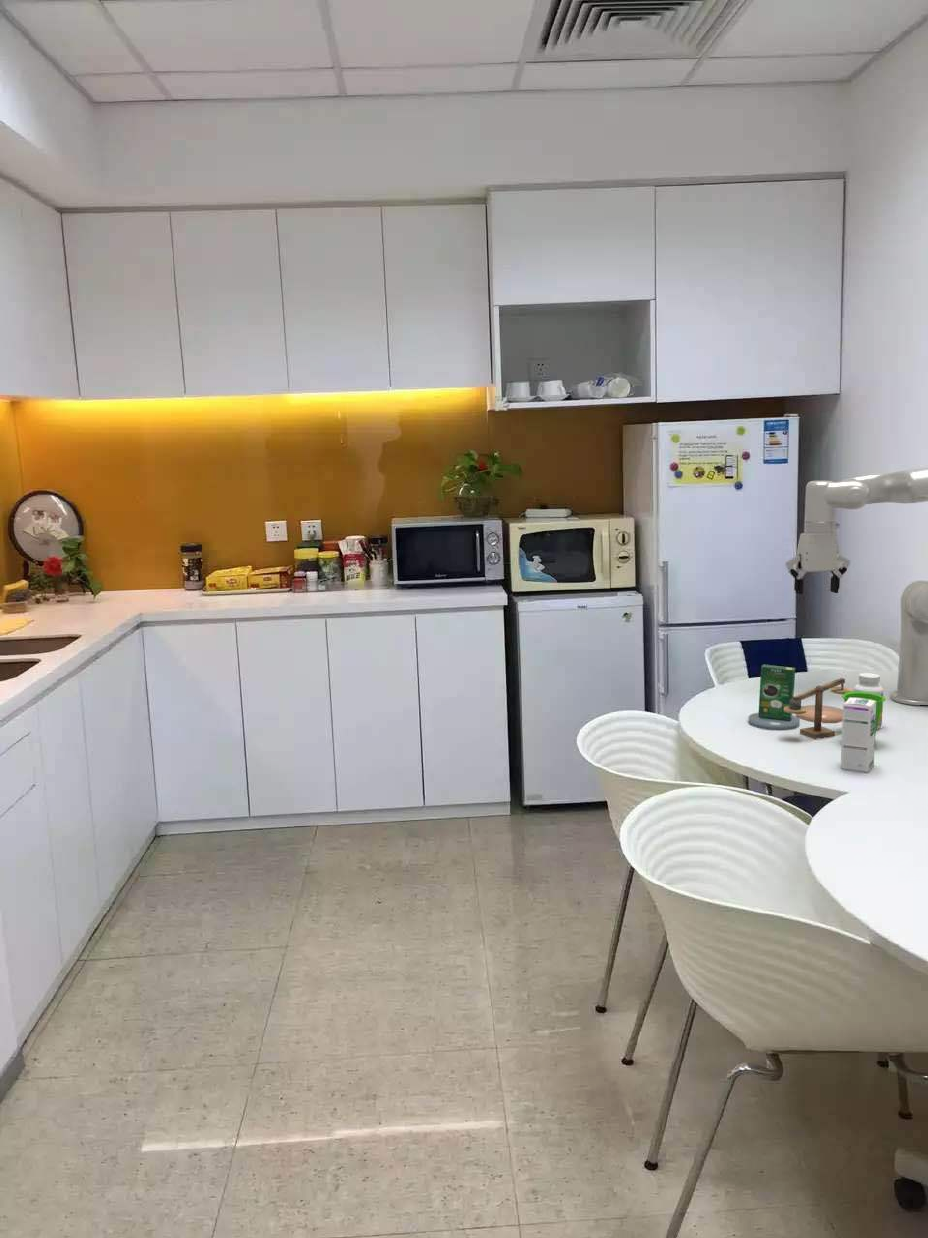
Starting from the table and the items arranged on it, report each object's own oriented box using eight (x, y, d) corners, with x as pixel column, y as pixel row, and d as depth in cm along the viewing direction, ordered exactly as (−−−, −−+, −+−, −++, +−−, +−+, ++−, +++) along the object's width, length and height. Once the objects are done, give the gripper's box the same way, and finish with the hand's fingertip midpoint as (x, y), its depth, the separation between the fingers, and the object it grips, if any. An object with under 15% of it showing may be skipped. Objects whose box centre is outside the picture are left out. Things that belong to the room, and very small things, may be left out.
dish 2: (832, 708, 259) (832, 704, 258) (855, 721, 247) (855, 716, 247) (787, 710, 257) (788, 706, 257) (808, 723, 246) (808, 719, 246)
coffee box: (794, 718, 246) (796, 666, 244) (791, 721, 244) (793, 669, 241) (760, 715, 250) (762, 663, 248) (757, 717, 248) (759, 666, 245)
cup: (881, 739, 233) (883, 693, 231) (883, 750, 224) (886, 703, 222) (839, 736, 236) (842, 690, 234) (840, 747, 227) (842, 700, 225)
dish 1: (787, 715, 253) (787, 710, 253) (807, 729, 242) (808, 724, 241) (741, 717, 252) (741, 713, 252) (759, 731, 240) (760, 726, 240)
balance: (840, 727, 242) (843, 674, 240) (856, 732, 238) (858, 679, 236) (778, 737, 236) (780, 683, 233) (792, 743, 231) (794, 688, 229)
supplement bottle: (884, 731, 239) (887, 678, 236) (854, 730, 240) (857, 678, 238) (878, 723, 245) (881, 672, 243) (849, 722, 246) (852, 671, 244)
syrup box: (868, 773, 210) (872, 705, 208) (839, 768, 213) (842, 702, 211) (874, 765, 215) (877, 699, 212) (845, 761, 218) (848, 696, 215)
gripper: (844, 526, 267) (841, 589, 270) (781, 528, 265) (779, 592, 268) (858, 528, 259) (854, 594, 263) (793, 530, 258) (791, 596, 261)
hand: (816, 593), depth 265 cm, fingers open, 9 cm apart
